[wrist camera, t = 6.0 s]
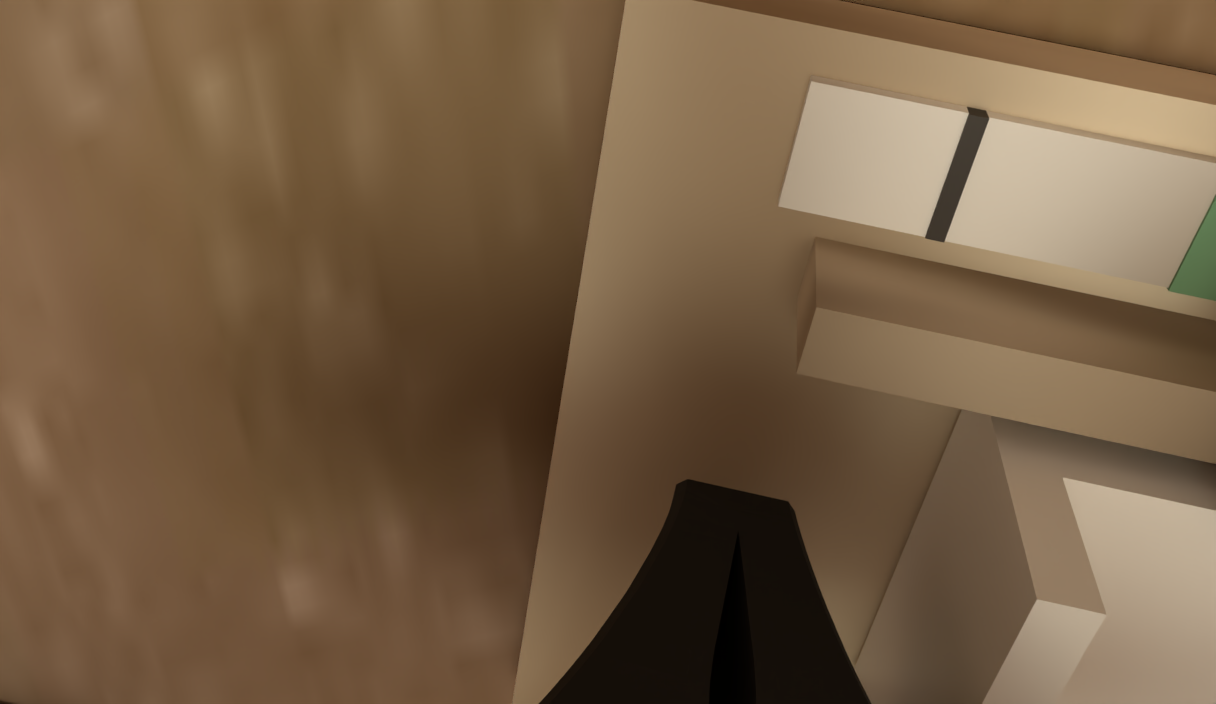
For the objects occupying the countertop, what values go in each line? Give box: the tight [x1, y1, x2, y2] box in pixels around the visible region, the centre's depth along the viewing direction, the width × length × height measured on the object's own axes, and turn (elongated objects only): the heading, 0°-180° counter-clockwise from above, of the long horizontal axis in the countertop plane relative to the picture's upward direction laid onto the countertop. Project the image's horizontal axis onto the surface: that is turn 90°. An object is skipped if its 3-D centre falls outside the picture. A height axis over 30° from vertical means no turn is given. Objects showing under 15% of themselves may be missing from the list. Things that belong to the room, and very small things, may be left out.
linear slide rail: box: [512, 0, 1216, 704], centre depth 12 cm, size 15×12×6 cm
